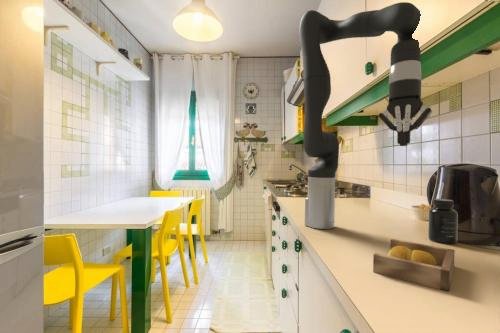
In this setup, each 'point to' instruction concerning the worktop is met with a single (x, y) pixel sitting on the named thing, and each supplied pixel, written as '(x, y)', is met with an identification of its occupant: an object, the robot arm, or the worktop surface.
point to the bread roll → (412, 255)
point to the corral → (418, 265)
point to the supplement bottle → (443, 222)
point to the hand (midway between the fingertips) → (403, 145)
